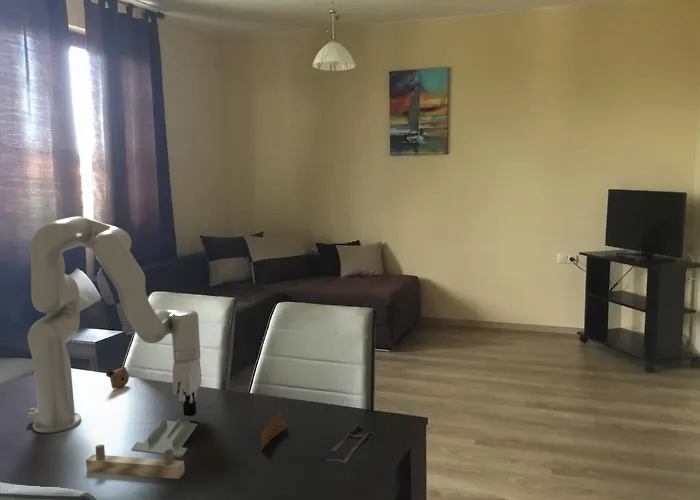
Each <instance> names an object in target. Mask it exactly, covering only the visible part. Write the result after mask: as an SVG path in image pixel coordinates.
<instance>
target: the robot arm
mask: <svg viewBox="0 0 700 500" xmlns="http://www.w3.org/2000/svg"><path fill="white" fill-rule="evenodd" d="M78 247H83V248H85V249H90V250H91V252H93V255H94V257H95V259H96V260H97V261H98V262H99V265H100V266H101V267H102V269H103V271H104V272H105V273H106V276H108V278H109V280H110V281H111V283H112V285H113V287H114V288H115V289H116V291H117V294H118V295H117V296H118V299H119V302H120V304H121V308H122V310H123V314H124V316H125V317H126V319H127V321H128V323H129V324H130V326H131V327H132V328H133V330H134V332H135V333H136V334H137V336H138V337H139V338H140V339H141V340H142V341H143V342H145V343H148V344H157V343H159V342H161V341H162V340H163V339H164V338H165V337H166V336H167V335H171V341H172V357H173V358H172V359H173V365H172V366H173V367H172V394H173V396H178V402H181V403H182V406H183V407H182V409H183V415H184V416H186V417H194V416H196V414H197V391H198V390H199V388H200V387H201V386H202V368H201V367H202V366H201V340H200V325H199V322H200V321H199V314H198V312H197V311H195V310H192V309H182V310H172V309H167V308H157V309H154V308H153V307H152V304H151V303H150V301H149V299H148V296H147V291H146V276H145V273H144V271H143V270H142V268H141V266H140V265H139V263H138V262H137V260H136V259H135V257H134V255H133V254H132V253H131V251H130V250H131V248H132V238H131V236H130V235H129V233H128V231H125V230H124V229H123V228H120V227H117V226H114V225H110V224H107V223H105V222H101V221H97V220H95V219H91V218H88V217H84V216H81V215H80V216H70V217H66V218H62V219H61V218H60V219H57V220H54V221H52V222H49V223H46V224H45V225H42V226H41V227H40V228H38V230H37V231H35V233H34V235H33V237H32V239H31V243H30V266H31V267H30V269H31V270H30V274H31V275H30V281H31V284H30V285H31V291H30V292H31V295H30V296H31V303H32V306H33V307H34V309H36V310H37V311H38V312H39V313H43V314H46V315H45V316H43V317H41V318H40V319H38V320H37V321H35V322H34V323H33V324H32V325H31V327H30V328H29V331H28V333H27V343H28V347H29V351H30V355H31V359H32V365H33V367H32V368H33V375H34V376H33V377H34V385H35V397H36V407H30V408H29V409H28V413H27V414H26V417H27V418H34V421H33V422H32V429H33V431H34V432H37V433H43V434H46V433H47V434H50V433H59V432H63V431H67V430H70V429H72V428H74V427H76V426H78V425H79V424H80V423H81V422H82V417H81V415H80V413H78V412H75V401H74V400H75V399H74V390H73V375H72V368H71V367H72V366H71V358H70V354H69V352H68V349H67V343H68V342H69V341H70V340H71V339H73V338H74V337H75V336H76V335H77V333H78V332H79V328H80V316H81V315H80V311H81V310H80V289H79V286H78V283H77V281H76V280H75V279H74V278H73V277H72V276H70V275H69V274H66V273H65V272H66V263H65V258H64V256H63V255H64V252H66V251H67V250H71V249H75V248H78Z"/></svg>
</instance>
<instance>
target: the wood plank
mask: <svg viewBox="0 0 700 500" xmlns="http://www.w3.org/2000/svg"><path fill="white" fill-rule="evenodd" d="M287 428H288V423H286V421H284V419H283V416H282V410H281V409H280V410H279V412H278V413H276V414H275V415H274V416H273V417H271V418H270V419H269V421H268V422H267V424H266V425H265V426H264V427H263V430H262V432H261V435H260V442H259V445H260V451H263V450H264V448H265V447H266V446H267V445H268V444H269V442H270V441H271V440H272V439H273V438H274V437H276V436H277V435H278V434H279V433H280V432H283V431H284V430H286V429H287Z"/></svg>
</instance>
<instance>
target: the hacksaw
mask: <svg viewBox="0 0 700 500" xmlns="http://www.w3.org/2000/svg"><path fill="white" fill-rule="evenodd" d="M362 428H363V427H362V426H361V425H360V424H356V425H354V426H353V428H352V429H351V430H350V431H348V433H347V434H346V436H344V437H343V438H342V439H341V440H340V441H339V442H337V444H336V445H335V446H333V448H332V449H331V450H330V451H331V452H333V451H337V450H339V448H341V446H343V445H344V444H345V443H346V442H347V440H348V439H349V438H353V439H359V440H358V441H357V443H355V445H354V446H353V447H352V449H350V451H349V453H348V454H347V455H346V456H345V458H344V460H343V459H330V458H325V461H328V462H333V461H334V462H341V463H344V464H347V463H348V461H349V463H350V464H352V466H353V467H355V468H354V469H350V470H347V469H344V471H346V472H347V471H348V472H352V471H353V472H354V471H355V470H357V468H358V466H357V465H356V464H354V463H353V462H351V461H352V459H353V458H354V456H353V454H355V452H356V451H357V450H358V449H359V447H361V446H362V444H363V443H364V442H365V441H366V440H367V438H374V437H375V436H376V434H375V432H373V431H372V432H371V431H370V432H366V433H365V434H356V433H357V432H359V430H360V431H362ZM369 434H374V435H373V436H370V437H369Z"/></svg>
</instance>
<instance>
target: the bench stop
mask: <svg viewBox="0 0 700 500" xmlns="http://www.w3.org/2000/svg"><path fill="white" fill-rule="evenodd" d="M163 455H164V459H160V458H149V457H135V456H133V457H132V456H123V455H122V456H121V455H106V452H105V445H104V444H97V445H95V454H94V453H93V454H92V455H90V456H89V457H88V458H86V459H85V465H86V472H87V473H89V472H90V473H99V474H100V473H102V474H113V475H125V476H139V477H149V478H150V477H151V478H160V479H161V478H163V479H174V480H176V479H177V480H179V479H181V477H182V476H183V475H184V474H185V473H186V472H185V461H184V460H175V459H174V456H173V450H171V448H170V449H169V450H166V451H164V454H163Z"/></svg>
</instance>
